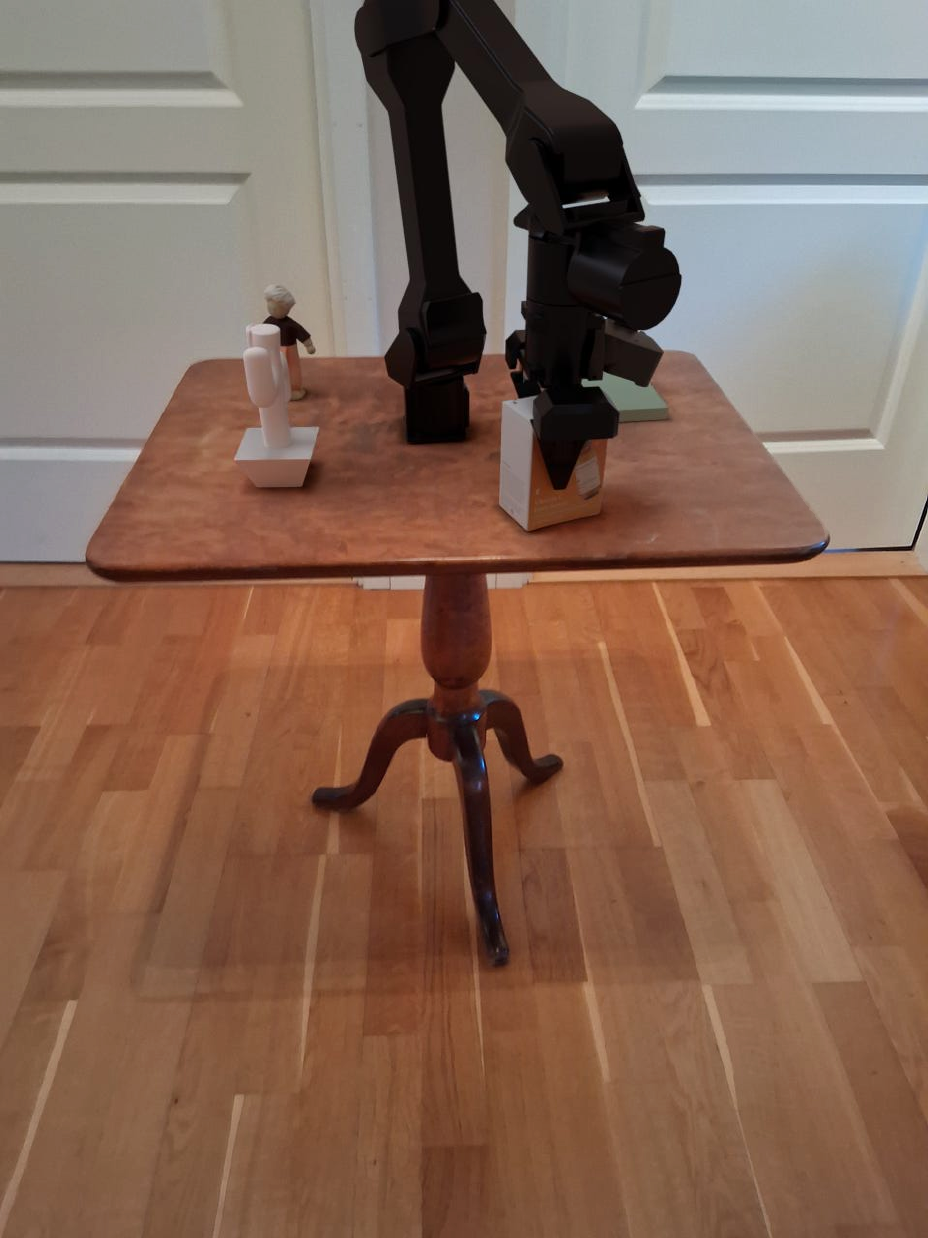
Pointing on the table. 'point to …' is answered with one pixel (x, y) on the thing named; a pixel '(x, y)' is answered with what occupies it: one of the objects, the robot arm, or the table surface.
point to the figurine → (272, 416)
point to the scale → (631, 398)
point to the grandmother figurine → (288, 334)
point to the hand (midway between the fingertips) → (552, 471)
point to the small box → (544, 474)
